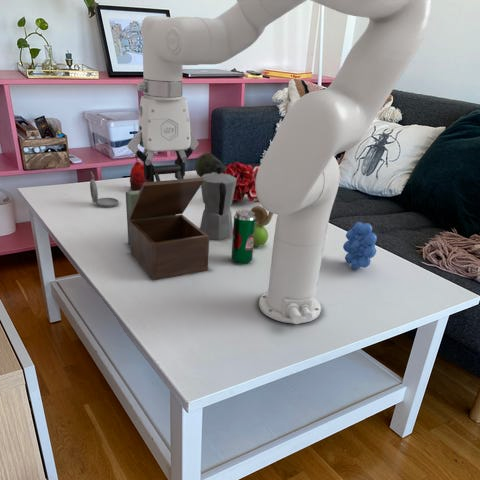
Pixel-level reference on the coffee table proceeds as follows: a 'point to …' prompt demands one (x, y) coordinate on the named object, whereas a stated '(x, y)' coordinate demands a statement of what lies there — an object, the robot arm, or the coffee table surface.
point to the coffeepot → (217, 204)
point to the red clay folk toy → (137, 176)
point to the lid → (164, 194)
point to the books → (130, 202)
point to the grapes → (360, 245)
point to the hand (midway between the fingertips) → (164, 180)
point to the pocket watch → (102, 201)
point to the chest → (168, 246)
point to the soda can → (243, 236)
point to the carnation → (239, 171)
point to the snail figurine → (261, 225)
